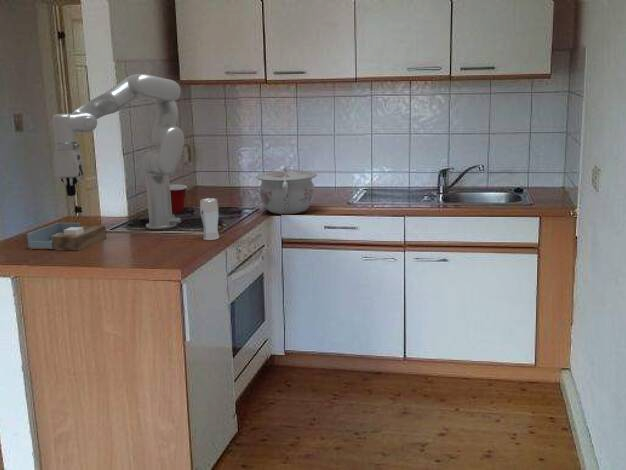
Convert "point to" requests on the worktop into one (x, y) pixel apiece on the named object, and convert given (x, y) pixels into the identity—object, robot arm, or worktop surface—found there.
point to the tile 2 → (74, 231)
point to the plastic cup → (177, 197)
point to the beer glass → (209, 218)
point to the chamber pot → (287, 191)
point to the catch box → (47, 235)
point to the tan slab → (80, 238)
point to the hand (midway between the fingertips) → (71, 195)
